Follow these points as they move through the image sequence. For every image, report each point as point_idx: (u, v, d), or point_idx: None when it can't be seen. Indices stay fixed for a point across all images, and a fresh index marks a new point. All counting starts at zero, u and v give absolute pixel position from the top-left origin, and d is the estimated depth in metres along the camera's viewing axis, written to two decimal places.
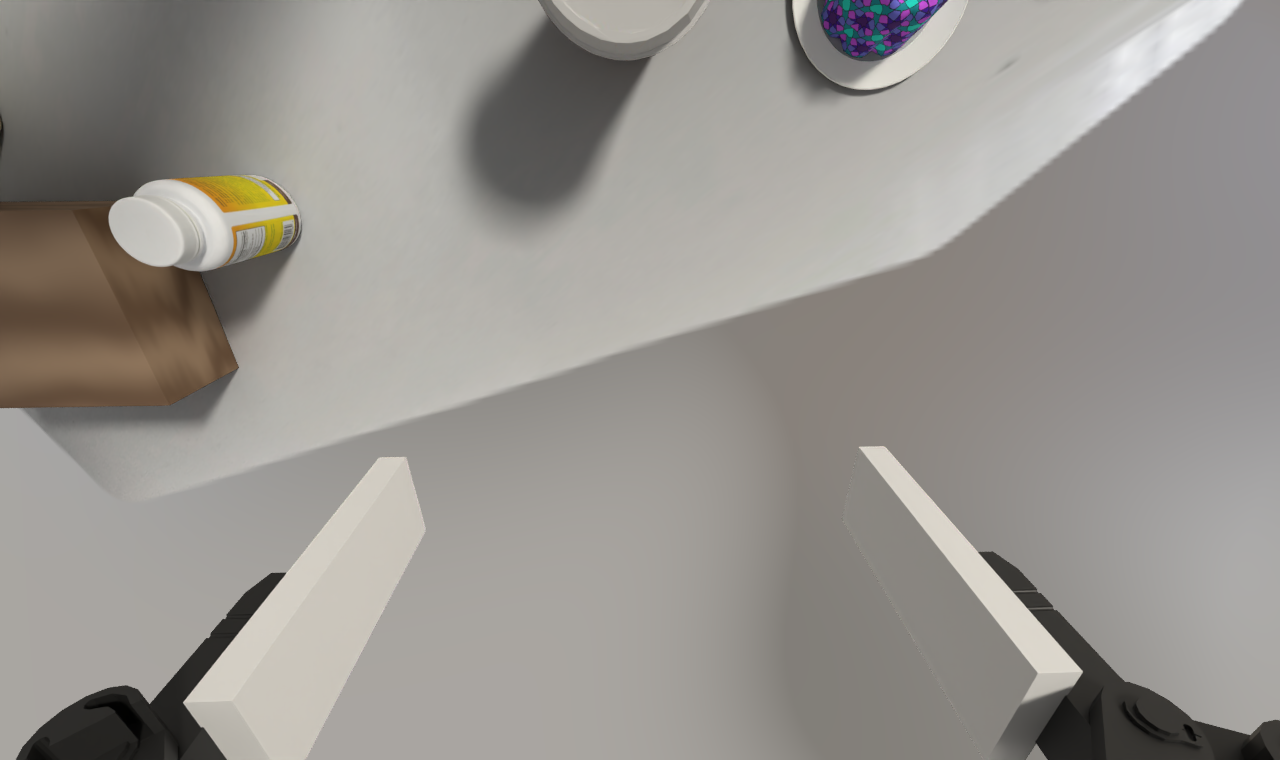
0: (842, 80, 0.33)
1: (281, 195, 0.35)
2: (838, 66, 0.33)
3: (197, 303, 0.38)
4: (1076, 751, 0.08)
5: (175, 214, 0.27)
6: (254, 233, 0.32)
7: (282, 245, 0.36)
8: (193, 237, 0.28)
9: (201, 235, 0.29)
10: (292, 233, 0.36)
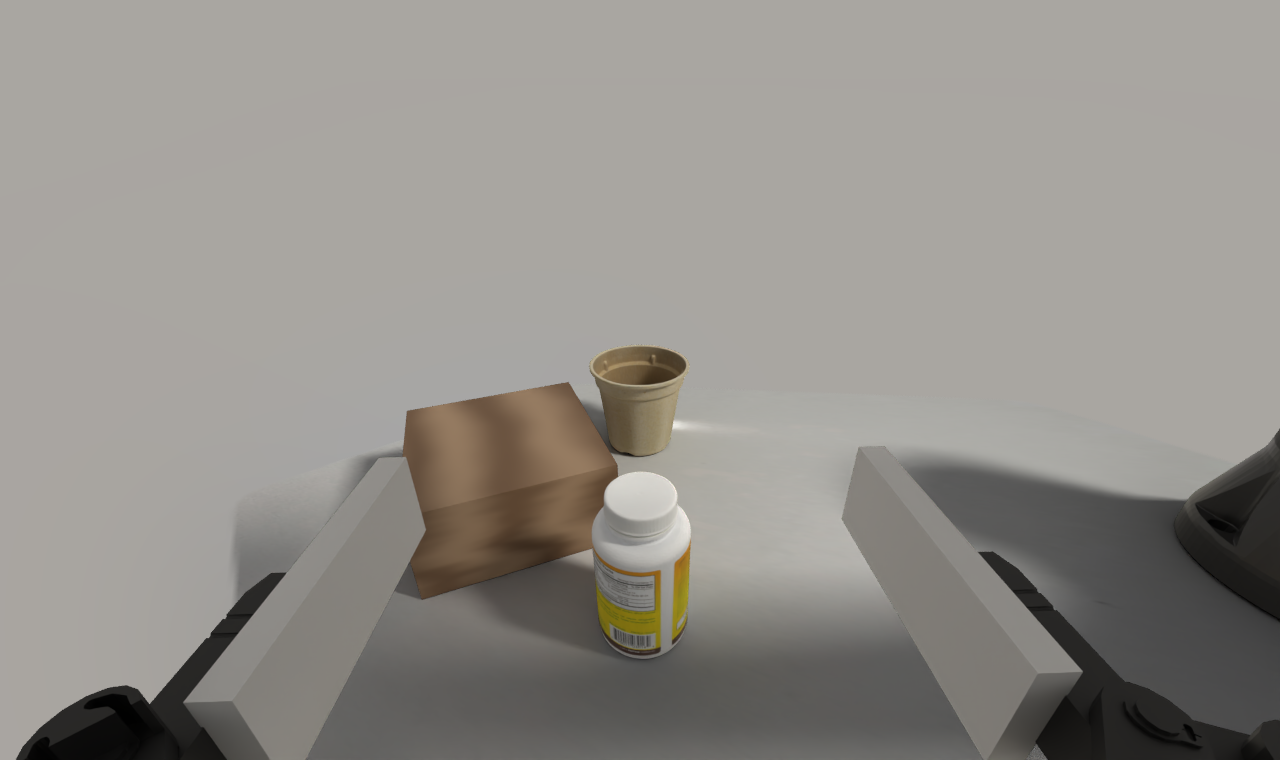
0: None
1: (679, 632, 0.27)
2: None
3: (515, 557, 0.33)
4: (1076, 751, 0.08)
5: (670, 516, 0.24)
6: (648, 598, 0.25)
7: (619, 636, 0.27)
8: (647, 530, 0.24)
9: (648, 539, 0.24)
10: (637, 646, 0.26)
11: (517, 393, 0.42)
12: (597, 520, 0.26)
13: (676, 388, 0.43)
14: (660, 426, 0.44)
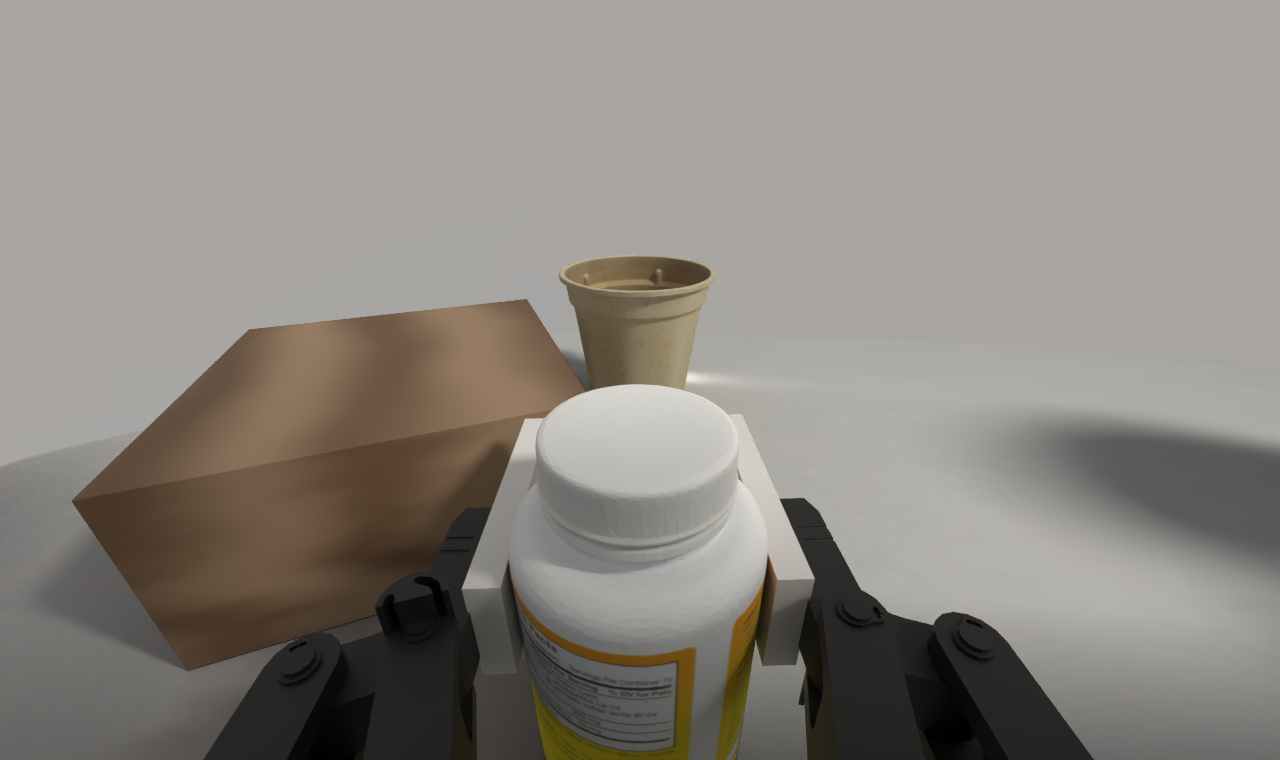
0: None
1: None
2: None
3: (391, 581, 0.17)
4: (815, 657, 0.09)
5: (724, 487, 0.08)
6: (657, 720, 0.09)
7: None
8: (658, 529, 0.08)
9: (661, 555, 0.08)
10: None
11: (442, 311, 0.26)
12: (526, 502, 0.10)
13: (696, 304, 0.27)
14: (670, 369, 0.28)
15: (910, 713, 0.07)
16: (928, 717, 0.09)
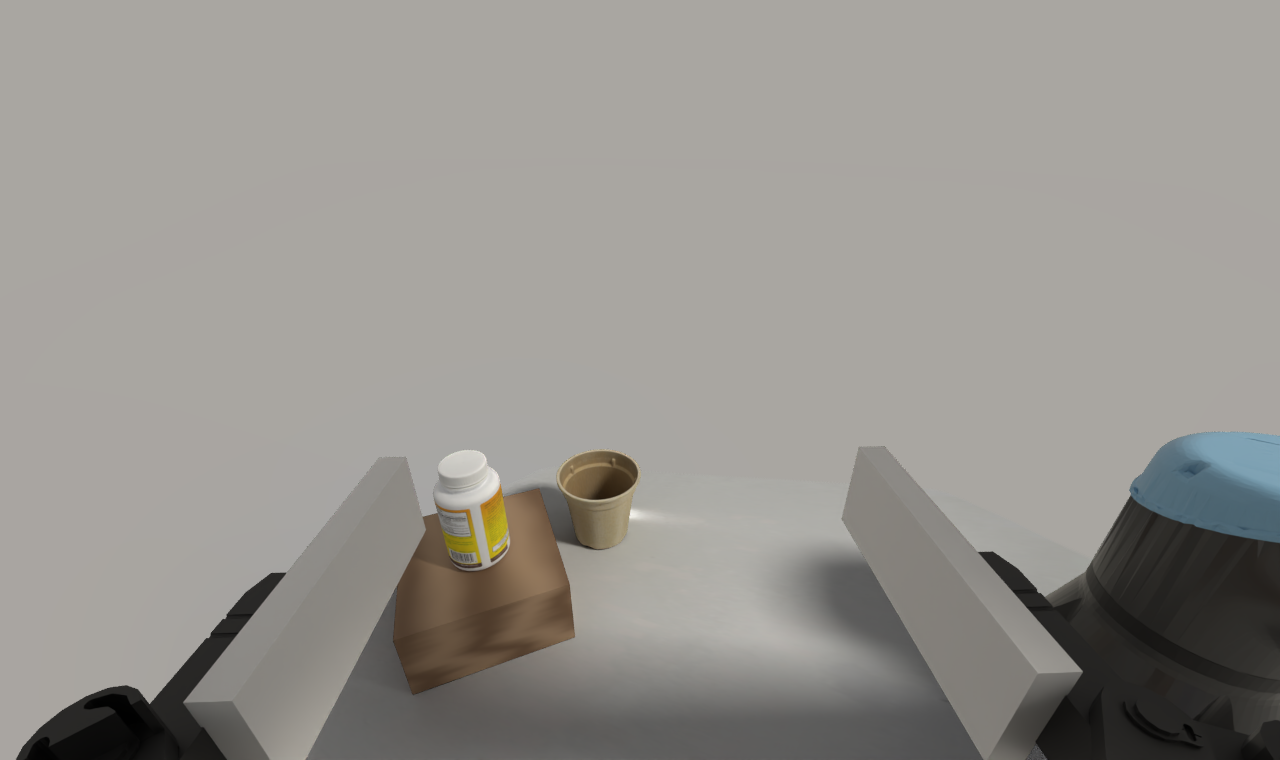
0: None
1: (496, 554, 0.42)
2: None
3: (487, 657, 0.41)
4: (1076, 751, 0.08)
5: (476, 476, 0.39)
6: (465, 527, 0.40)
7: (454, 555, 0.41)
8: (460, 484, 0.39)
9: (462, 490, 0.39)
10: (465, 562, 0.41)
11: None
12: (438, 480, 0.41)
13: (628, 497, 0.51)
14: (616, 526, 0.53)
15: None
16: None
